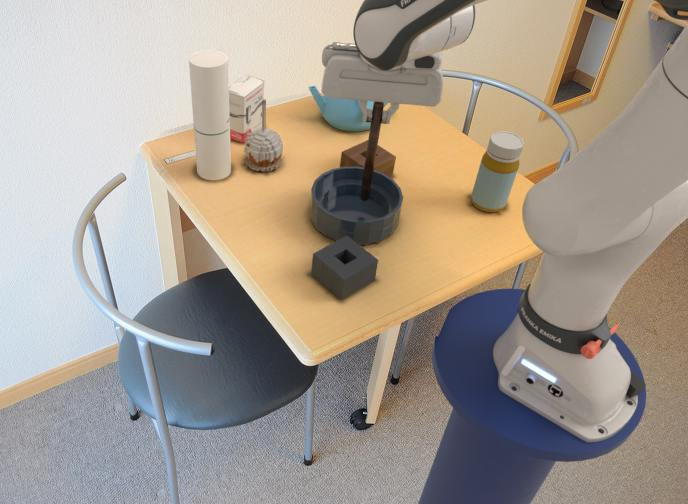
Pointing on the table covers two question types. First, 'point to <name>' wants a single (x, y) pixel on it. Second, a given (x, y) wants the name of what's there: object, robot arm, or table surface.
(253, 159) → the grey round-headed piece
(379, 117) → the stick
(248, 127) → the ink box
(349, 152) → the holder
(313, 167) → the table surface
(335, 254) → the stand
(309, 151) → the table surface
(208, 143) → the cylindrical container
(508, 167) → the bottle
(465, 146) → the table surface
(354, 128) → the teapot
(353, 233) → the bowl
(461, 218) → the table surface
